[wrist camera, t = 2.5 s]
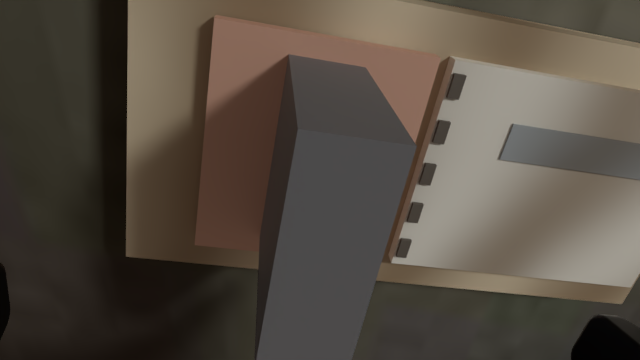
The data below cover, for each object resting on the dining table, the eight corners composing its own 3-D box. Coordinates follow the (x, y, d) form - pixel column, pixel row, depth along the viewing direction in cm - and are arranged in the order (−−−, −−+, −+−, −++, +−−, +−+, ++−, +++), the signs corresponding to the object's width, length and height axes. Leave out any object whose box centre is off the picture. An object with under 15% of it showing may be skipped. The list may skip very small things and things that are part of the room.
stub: (196, 236, 13) (160, 384, 9) (216, 14, 11) (177, 75, 6) (375, 255, 14) (420, 399, 10) (435, 54, 12) (532, 131, 7)
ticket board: (138, 227, 15) (121, 267, 13) (145, -55, 11) (121, -52, 10) (595, 275, 18) (631, 314, 16) (717, 58, 14) (782, 77, 12)
